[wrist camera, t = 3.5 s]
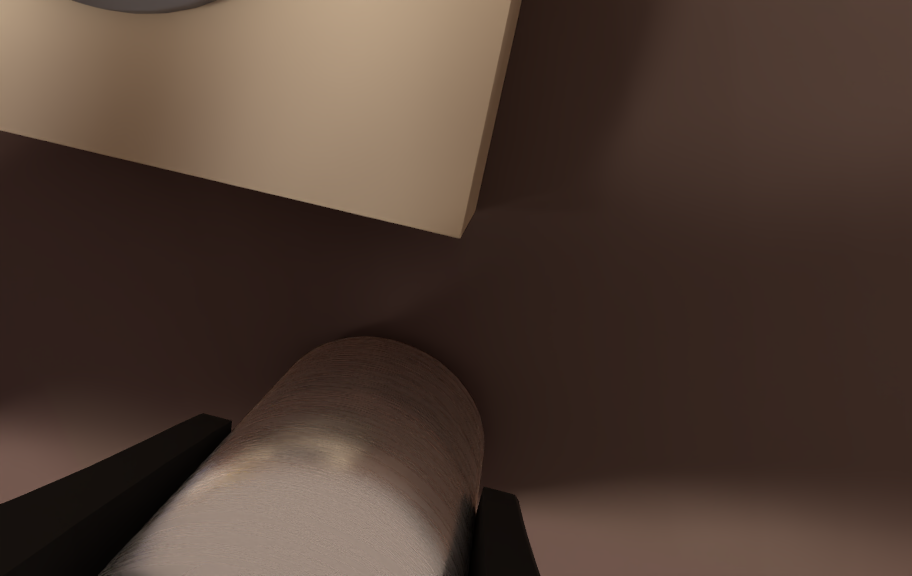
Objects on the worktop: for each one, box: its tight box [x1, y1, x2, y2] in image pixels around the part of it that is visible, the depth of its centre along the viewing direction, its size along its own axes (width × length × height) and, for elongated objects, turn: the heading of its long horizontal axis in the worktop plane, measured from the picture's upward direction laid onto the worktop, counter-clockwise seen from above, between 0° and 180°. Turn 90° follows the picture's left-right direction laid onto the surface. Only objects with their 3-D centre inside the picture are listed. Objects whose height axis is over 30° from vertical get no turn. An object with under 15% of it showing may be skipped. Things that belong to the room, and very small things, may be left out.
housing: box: [97, 336, 484, 576], centre depth 9 cm, size 5×5×7 cm
